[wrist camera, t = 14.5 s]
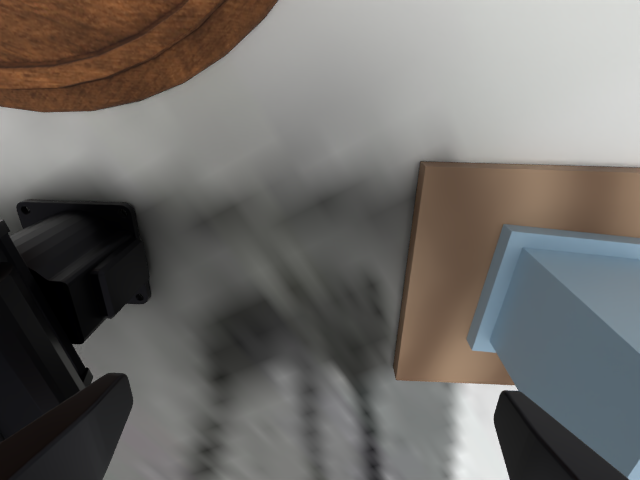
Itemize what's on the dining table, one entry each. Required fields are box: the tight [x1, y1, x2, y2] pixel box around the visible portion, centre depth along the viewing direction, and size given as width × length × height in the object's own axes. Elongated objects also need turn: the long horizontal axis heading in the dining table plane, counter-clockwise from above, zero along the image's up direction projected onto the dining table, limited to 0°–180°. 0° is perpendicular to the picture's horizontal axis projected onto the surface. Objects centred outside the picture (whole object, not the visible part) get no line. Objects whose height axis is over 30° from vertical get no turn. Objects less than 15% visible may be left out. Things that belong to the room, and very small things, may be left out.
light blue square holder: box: [466, 224, 640, 480], centre depth 16 cm, size 8×8×10 cm
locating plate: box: [393, 161, 640, 385], centre depth 20 cm, size 16×14×4 cm
